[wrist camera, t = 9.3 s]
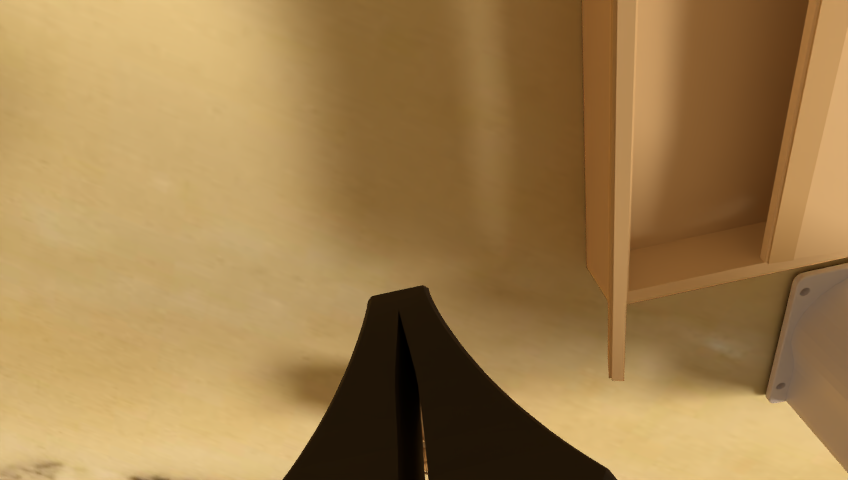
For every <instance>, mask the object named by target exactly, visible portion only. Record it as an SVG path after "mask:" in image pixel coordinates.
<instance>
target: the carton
mask: <svg viewBox="0 0 848 480" xmlns="http://www.w3.org/2000/svg"><path fill="white" fill-rule="evenodd" d="M808 4H809V0H636V20H635V51H634V83H633V114H632V145H631V176H630V207H629V239H628V270H627V301H626V305H627V304H631V303H636V302H641V301H645V300H650V299H655V298H659V297H664V296H669V295H673V294H678V293H683V292H687V291H692V290H697V289H701V288H706V287H711V286H715V285H720V284H725V283H729V282H734V281H739V280H743V279H748V278H753V277H757V276H762V275H767V274H772V273H776V272H781V271H786V270H790V269H795V268H800V267H804V266H809V265H814V264H818V263H823V262H828V261H832V260H837V259H842V258H846V257H848V251H844V252H837V253H830V254H823V255H816V256H809V257H802V258H796V259H794V260H793V261H786V262H779V263H772V264H768V263H764V262H763V260H762V259H761V258H760V254H761V249H762V244H763V238H764V233H765V228H766V223H767V218H768V212H769V207H770V202H771V197H772V191H773V186H774V181H775V176H776V171H777V165H778V160H779V155H780V150H781V144H782V139H783V134H784V129H785V124H786V118H787V113H788V108H789V103H790V98H791V92H792V87H793V82H794V77H795V71H796V66H797V61H798V56H799V51H800V45H801V40H802V35H803V30H804V25H805V19H806V14H807V9H808ZM582 33H583V88H584V144H585V199H586V255H587V269H588V270H589V272H590V274H591V275H592V277H593V278H594V280H595V281H596V283H597V285H598V286H599V288H600V289H601V291H602V293H603V294H604V296H605V297H606V299H607V300H608V171H609V42H610V0H582Z"/></svg>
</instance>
